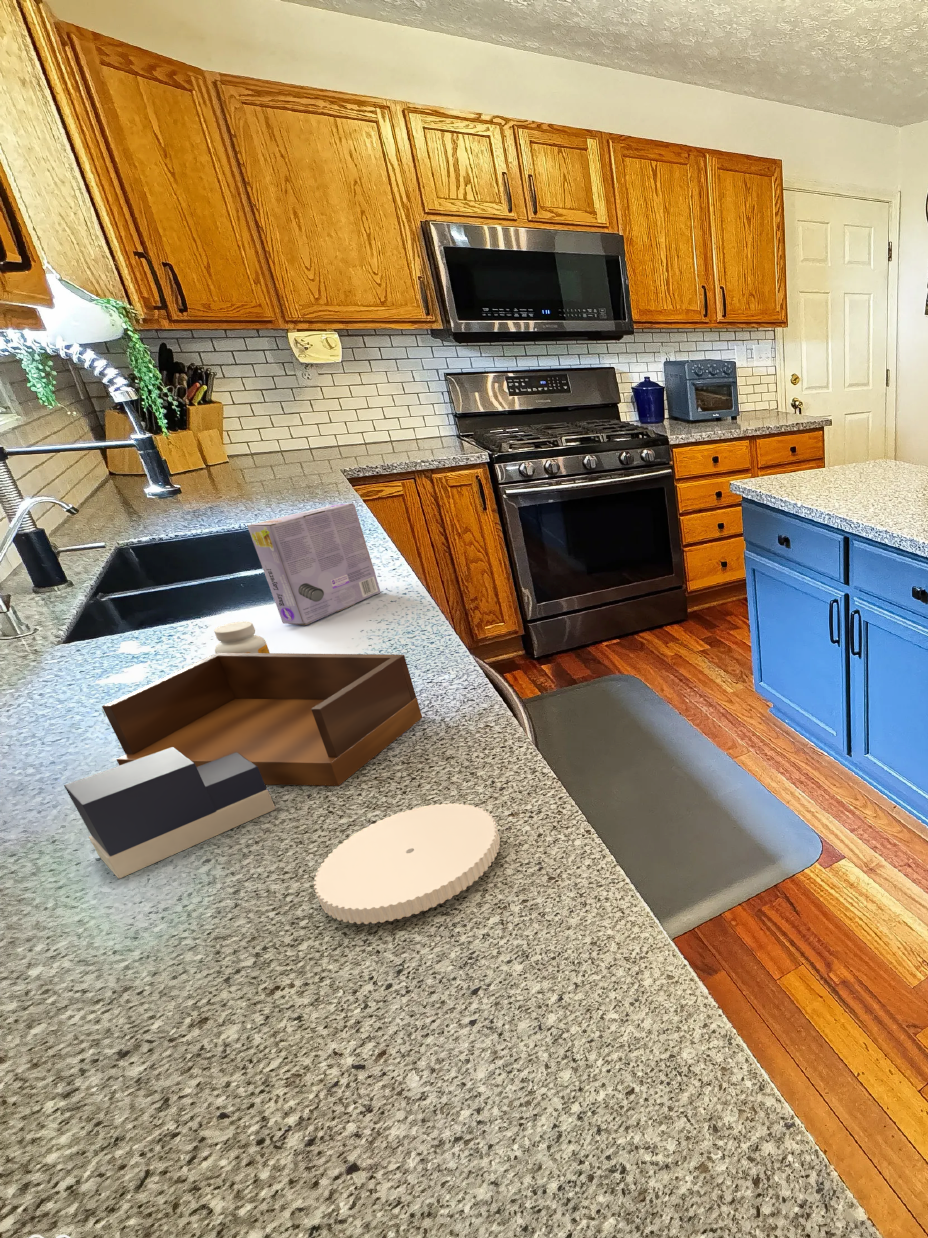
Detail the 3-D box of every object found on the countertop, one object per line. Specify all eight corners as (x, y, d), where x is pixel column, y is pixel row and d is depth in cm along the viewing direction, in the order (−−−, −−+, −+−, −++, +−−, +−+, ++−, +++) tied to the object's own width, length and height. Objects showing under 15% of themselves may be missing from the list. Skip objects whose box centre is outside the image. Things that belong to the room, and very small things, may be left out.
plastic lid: (512, 890, 61) (506, 867, 60) (317, 959, 54) (306, 935, 53) (492, 807, 72) (487, 787, 71) (328, 856, 65) (319, 835, 64)
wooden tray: (127, 782, 76) (91, 710, 73) (242, 715, 90) (217, 652, 87) (338, 786, 76) (312, 713, 72) (422, 717, 89) (404, 654, 86)
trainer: (118, 879, 62) (78, 806, 59) (99, 857, 65) (60, 786, 62) (275, 809, 72) (248, 742, 69) (253, 792, 75) (226, 727, 71)
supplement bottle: (248, 702, 94) (221, 636, 90) (223, 695, 95) (196, 631, 92) (290, 685, 98) (267, 622, 94) (266, 679, 100) (242, 617, 96)
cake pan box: (363, 590, 136) (336, 500, 129) (387, 590, 136) (361, 500, 129) (279, 626, 119) (242, 524, 112) (306, 627, 118) (271, 525, 111)
